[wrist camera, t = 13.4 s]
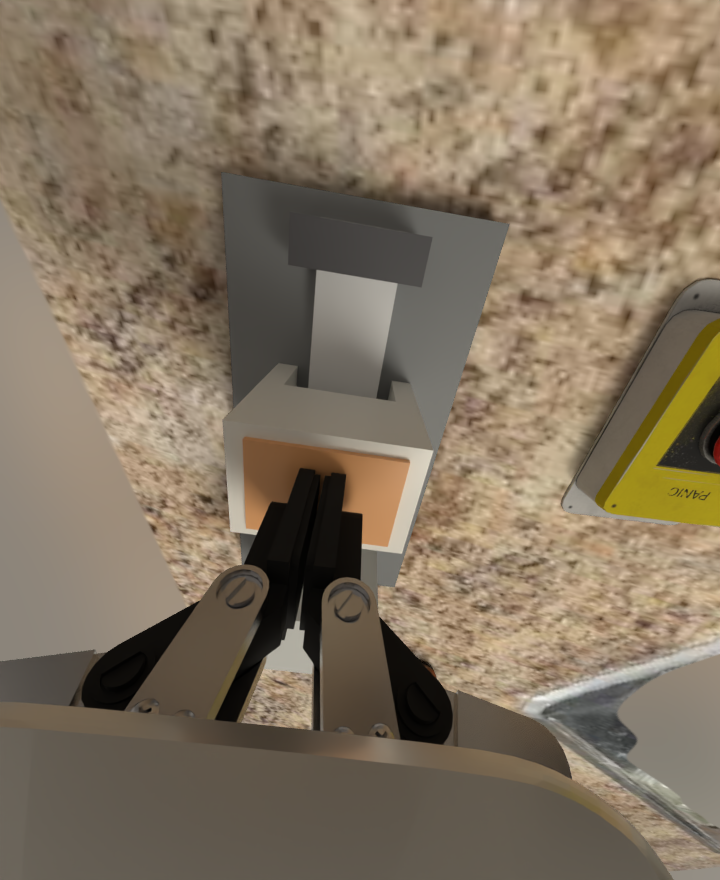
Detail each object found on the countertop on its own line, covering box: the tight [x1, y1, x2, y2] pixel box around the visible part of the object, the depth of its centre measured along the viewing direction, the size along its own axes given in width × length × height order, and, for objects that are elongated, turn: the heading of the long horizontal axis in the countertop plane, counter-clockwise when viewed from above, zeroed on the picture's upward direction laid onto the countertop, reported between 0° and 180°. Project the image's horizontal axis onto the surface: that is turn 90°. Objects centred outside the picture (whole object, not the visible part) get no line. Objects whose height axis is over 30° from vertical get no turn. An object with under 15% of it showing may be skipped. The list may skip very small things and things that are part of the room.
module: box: [223, 363, 433, 554], centre depth 14 cm, size 5×7×7 cm
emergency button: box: [561, 279, 720, 527], centre depth 17 cm, size 9×4×15 cm
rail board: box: [221, 172, 509, 674], centre depth 16 cm, size 24×12×8 cm, turn 172°
